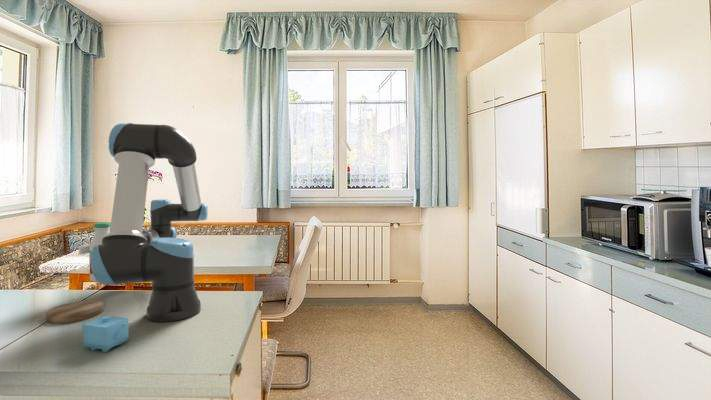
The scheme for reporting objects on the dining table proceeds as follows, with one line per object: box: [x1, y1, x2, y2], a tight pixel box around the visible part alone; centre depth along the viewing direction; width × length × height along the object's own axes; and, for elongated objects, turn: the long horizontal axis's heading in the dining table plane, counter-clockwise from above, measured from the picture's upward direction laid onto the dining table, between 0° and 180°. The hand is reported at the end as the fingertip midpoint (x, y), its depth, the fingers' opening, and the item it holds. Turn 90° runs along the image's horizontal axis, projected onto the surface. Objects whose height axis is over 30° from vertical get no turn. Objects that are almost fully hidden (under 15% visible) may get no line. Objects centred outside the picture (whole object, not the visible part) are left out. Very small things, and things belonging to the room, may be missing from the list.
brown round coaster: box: [44, 300, 104, 325], centre depth 110 cm, size 14×14×2 cm
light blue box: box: [82, 315, 130, 353], centre depth 88 cm, size 12×6×8 cm, turn 76°
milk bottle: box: [88, 221, 111, 283], centre depth 124 cm, size 8×8×20 cm
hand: (89, 251), depth 119 cm, fingers closed on milk bottle, 7 cm apart
